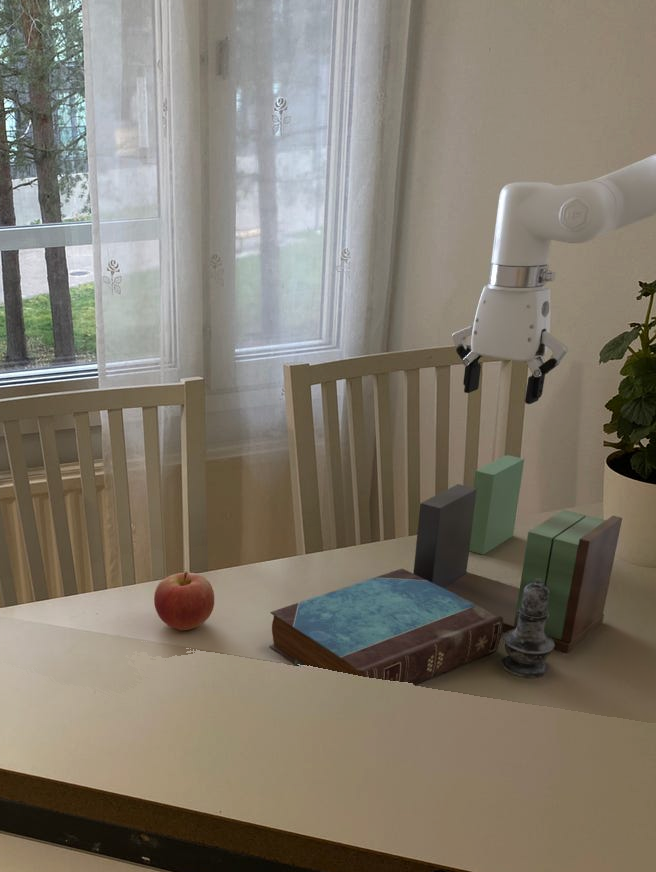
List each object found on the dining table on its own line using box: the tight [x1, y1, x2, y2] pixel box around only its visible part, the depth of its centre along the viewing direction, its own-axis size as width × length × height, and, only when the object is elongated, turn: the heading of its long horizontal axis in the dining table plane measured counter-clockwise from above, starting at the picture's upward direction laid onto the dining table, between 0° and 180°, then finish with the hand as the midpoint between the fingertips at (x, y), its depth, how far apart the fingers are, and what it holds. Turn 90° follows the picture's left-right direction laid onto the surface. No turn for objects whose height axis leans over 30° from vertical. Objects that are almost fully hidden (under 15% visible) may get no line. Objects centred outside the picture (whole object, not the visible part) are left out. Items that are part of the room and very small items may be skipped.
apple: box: [153, 571, 215, 631], centre depth 121 cm, size 8×8×8 cm
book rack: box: [413, 483, 623, 654], centre depth 121 cm, size 11×24×15 cm, turn 46°
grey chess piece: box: [500, 577, 554, 679], centre depth 108 cm, size 6×6×12 cm
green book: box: [469, 454, 525, 556], centre depth 142 cm, size 10×3×13 cm, turn 135°
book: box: [269, 568, 503, 685], centre depth 114 cm, size 23×18×5 cm
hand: (500, 396), depth 136 cm, fingers open, 9 cm apart
